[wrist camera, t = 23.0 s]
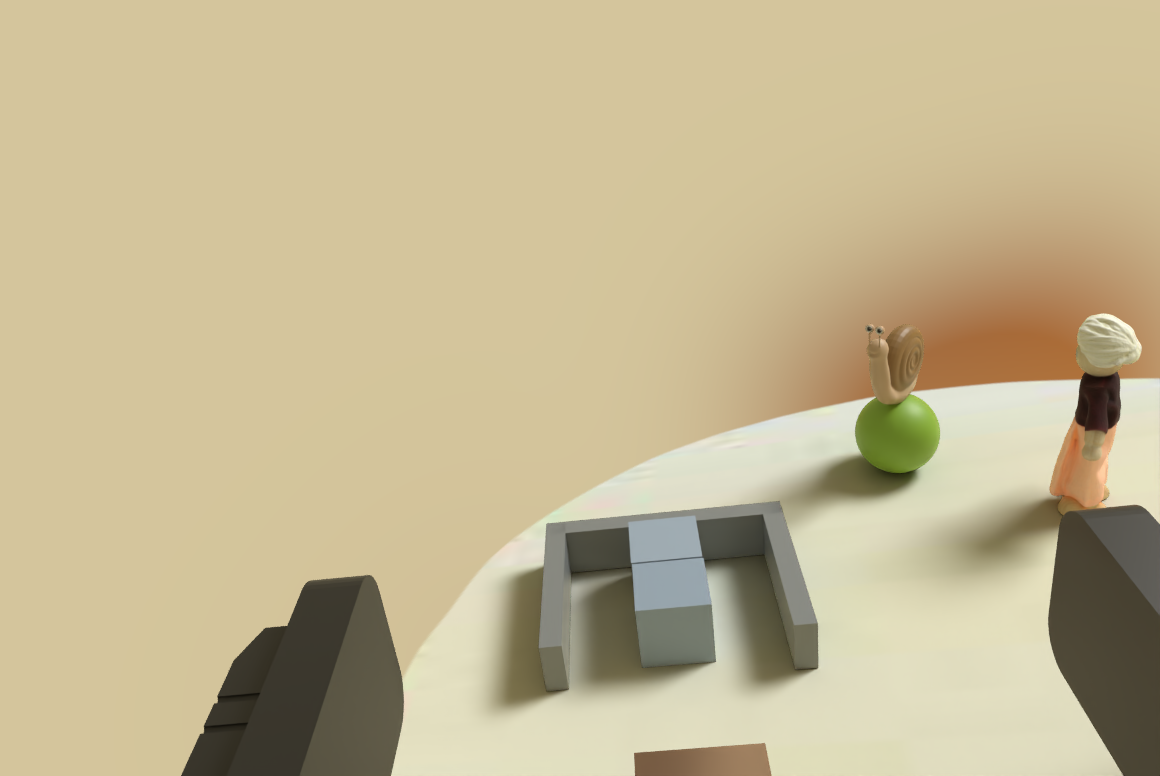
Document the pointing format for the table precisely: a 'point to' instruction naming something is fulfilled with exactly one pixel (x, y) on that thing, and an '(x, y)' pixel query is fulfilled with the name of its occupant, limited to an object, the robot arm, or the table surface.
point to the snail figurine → (896, 405)
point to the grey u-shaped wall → (719, 538)
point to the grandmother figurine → (1094, 413)
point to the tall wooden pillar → (705, 761)
